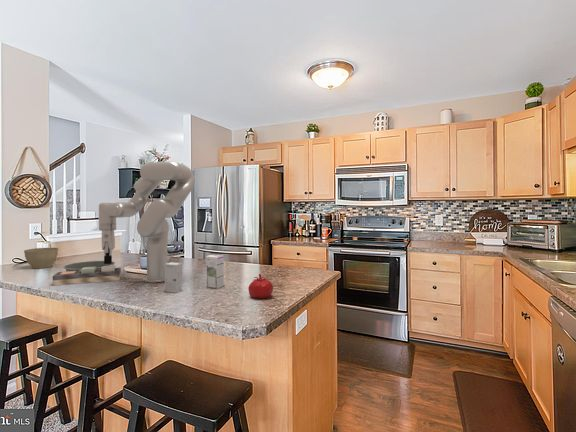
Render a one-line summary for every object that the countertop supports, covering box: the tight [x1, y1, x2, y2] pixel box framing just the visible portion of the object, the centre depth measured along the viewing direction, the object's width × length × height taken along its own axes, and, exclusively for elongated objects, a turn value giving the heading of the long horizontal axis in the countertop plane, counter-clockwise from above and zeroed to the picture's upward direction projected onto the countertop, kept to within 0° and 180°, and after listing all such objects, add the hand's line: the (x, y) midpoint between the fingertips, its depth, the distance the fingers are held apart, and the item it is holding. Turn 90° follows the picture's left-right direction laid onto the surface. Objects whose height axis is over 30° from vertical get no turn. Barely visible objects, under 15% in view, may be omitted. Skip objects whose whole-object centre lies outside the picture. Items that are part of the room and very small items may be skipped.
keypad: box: [52, 267, 122, 287], centre depth 154 cm, size 27×10×4 cm, turn 114°
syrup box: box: [206, 253, 225, 290], centre depth 142 cm, size 6×6×14 cm
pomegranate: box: [247, 273, 274, 299], centre depth 127 cm, size 10×10×9 cm
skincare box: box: [164, 261, 183, 294], centre depth 135 cm, size 6×4×12 cm
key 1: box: [60, 271, 76, 275], centre depth 150 cm, size 6×6×2 cm
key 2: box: [101, 264, 116, 272], centre depth 157 cm, size 6×6×2 cm
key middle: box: [81, 267, 96, 273], centre depth 154 cm, size 6×6×2 cm
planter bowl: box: [23, 247, 59, 269], centre depth 187 cm, size 16×16×11 cm
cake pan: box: [63, 260, 116, 271], centre depth 175 cm, size 25×25×4 cm
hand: (108, 263), depth 157 cm, fingers closed
